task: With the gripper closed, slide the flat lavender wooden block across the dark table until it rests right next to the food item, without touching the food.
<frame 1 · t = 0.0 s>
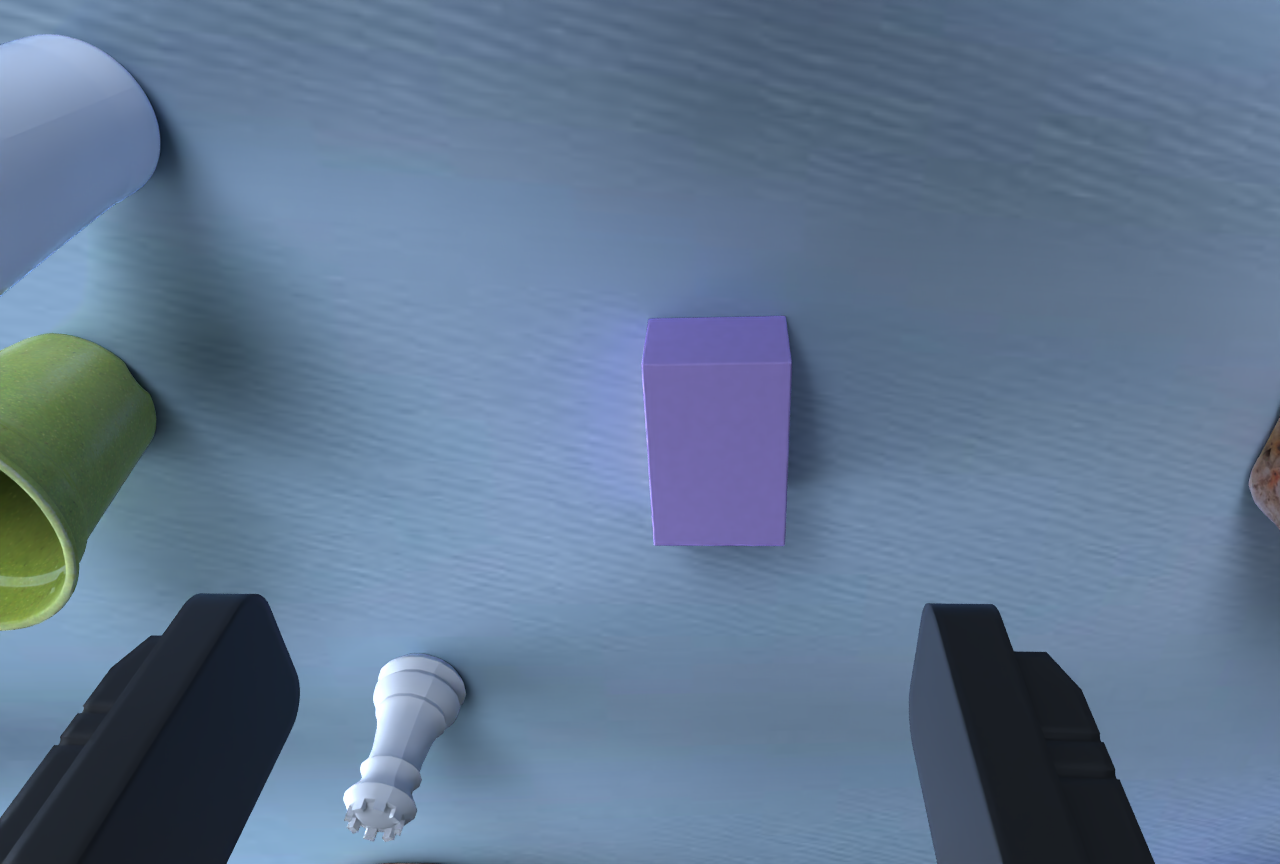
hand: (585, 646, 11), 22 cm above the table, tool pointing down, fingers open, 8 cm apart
lavender block: (718, 409, 34), on the table
plant pot: (87, 392, 37), on the table
rook chess piece: (425, 676, 45), on the table
drinking glass: (93, 114, 30), on the table
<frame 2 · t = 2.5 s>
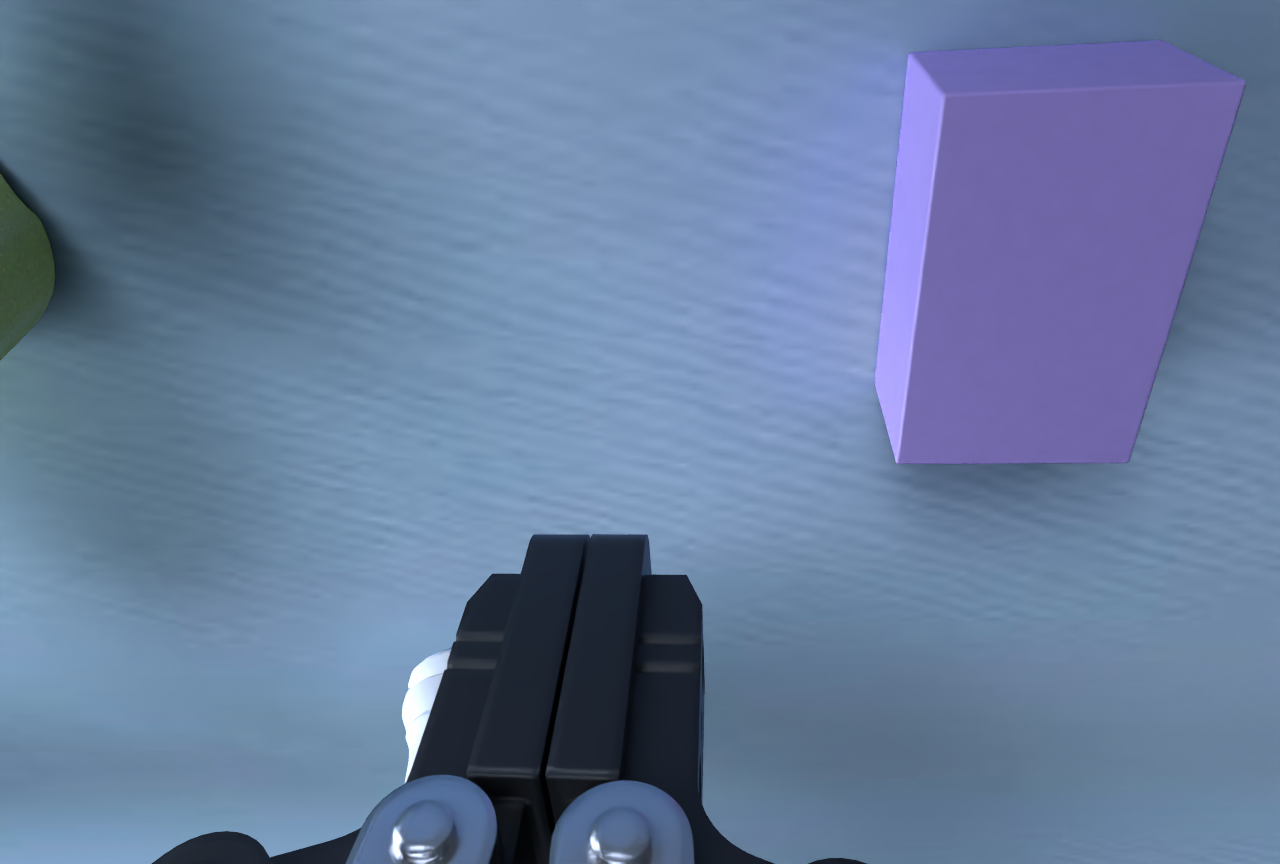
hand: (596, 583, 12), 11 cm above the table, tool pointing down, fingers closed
lavender block: (1000, 232, 20), on the table
rook chess piece: (477, 679, 31), on the table
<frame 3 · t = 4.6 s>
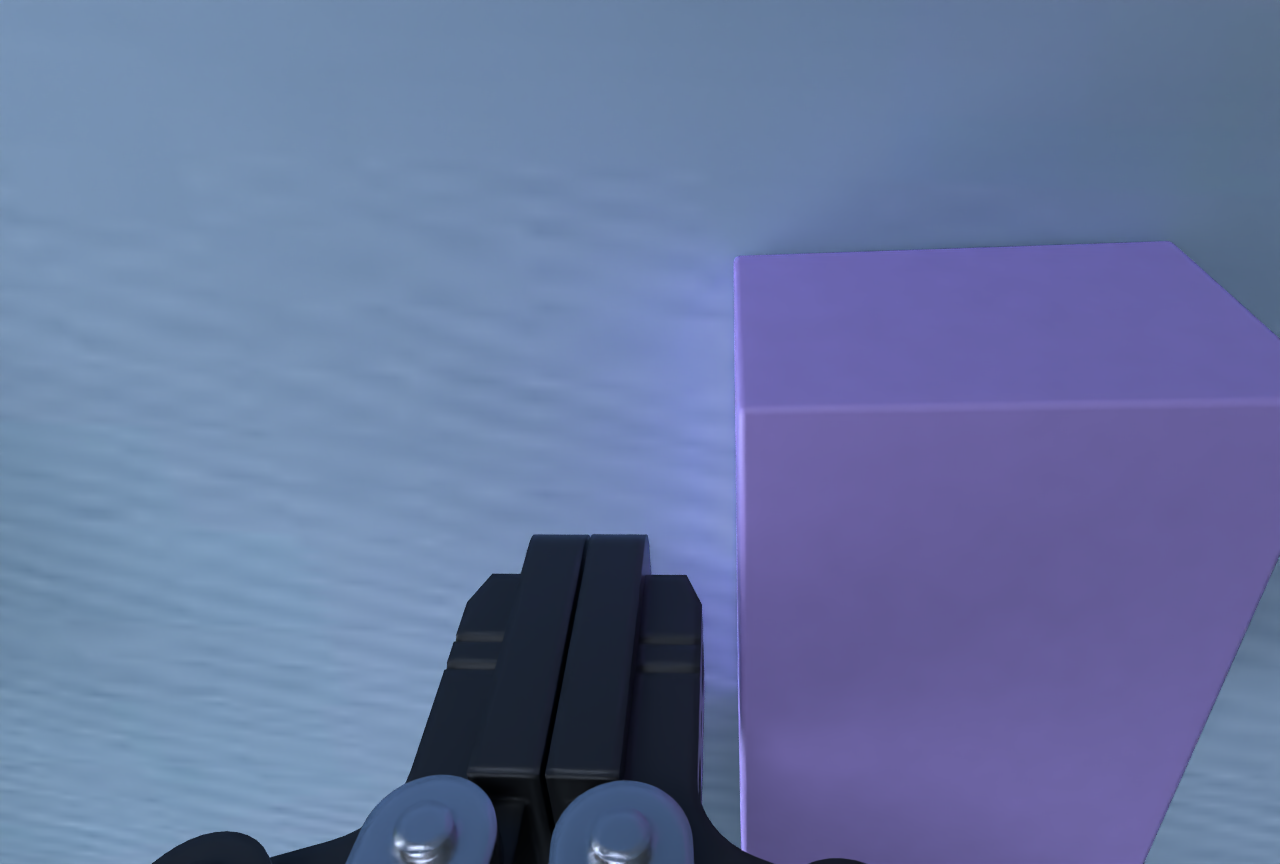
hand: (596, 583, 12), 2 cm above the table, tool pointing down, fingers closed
lavender block: (912, 512, 13), on the table, touching gripper
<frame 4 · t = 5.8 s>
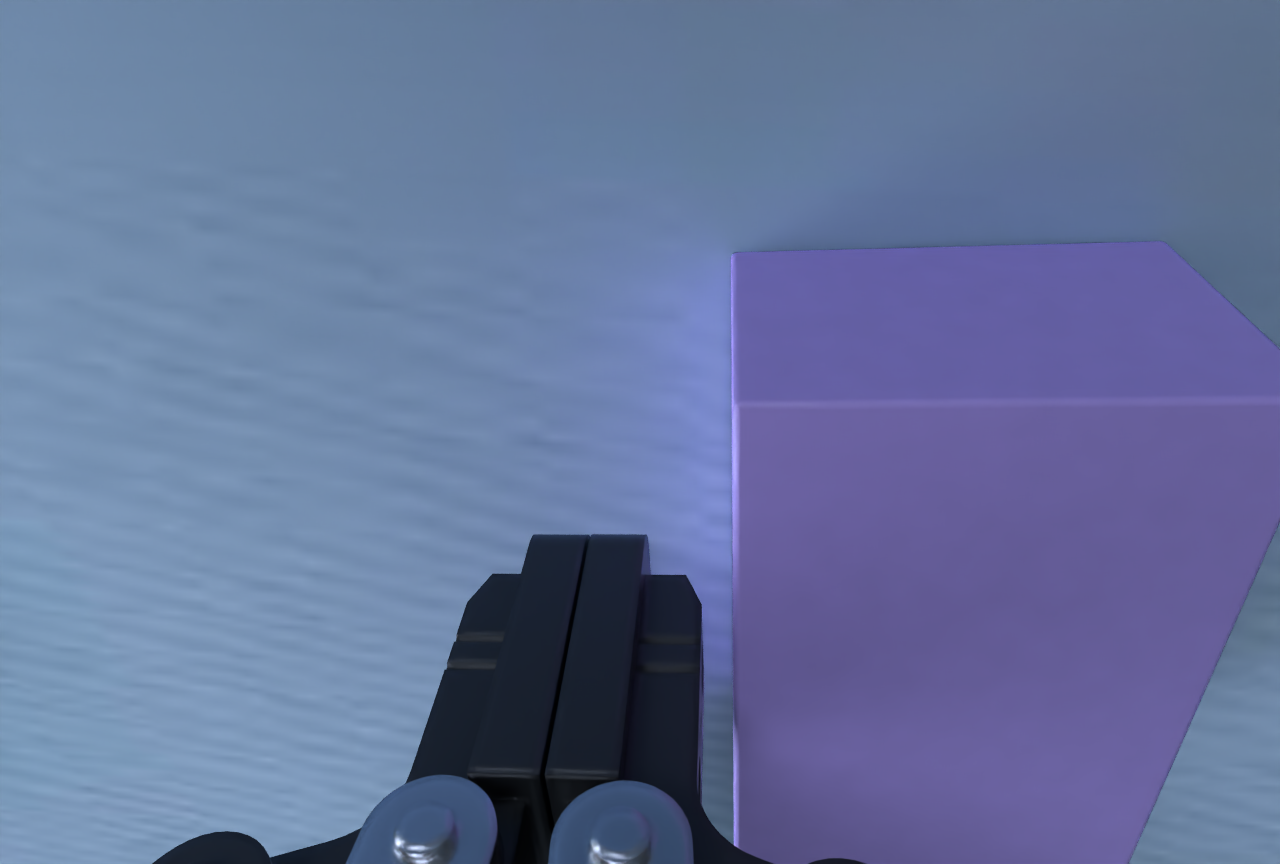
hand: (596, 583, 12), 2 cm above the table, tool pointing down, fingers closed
lavender block: (907, 508, 13), on the table, touching gripper
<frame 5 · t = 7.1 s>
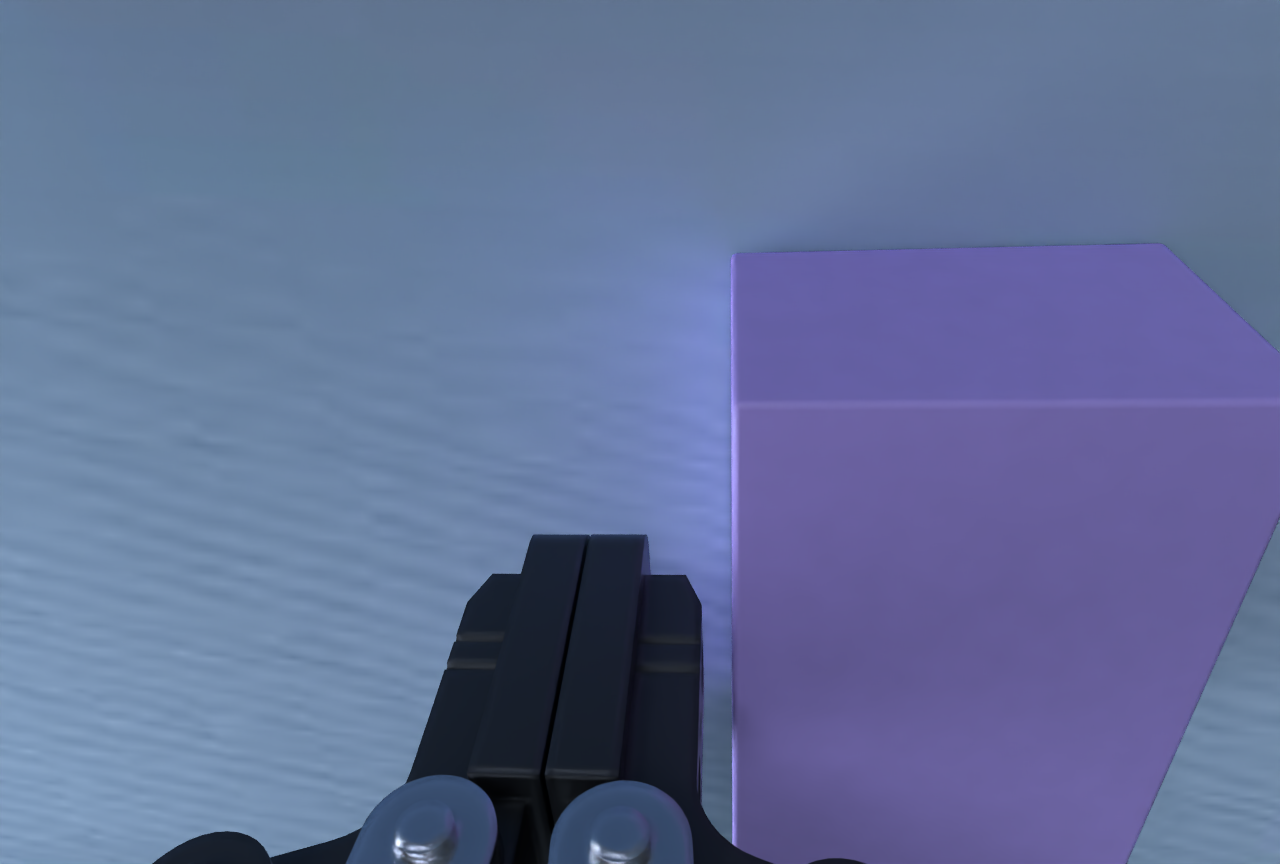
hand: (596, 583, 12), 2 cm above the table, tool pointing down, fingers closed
lavender block: (906, 509, 13), on the table, touching gripper
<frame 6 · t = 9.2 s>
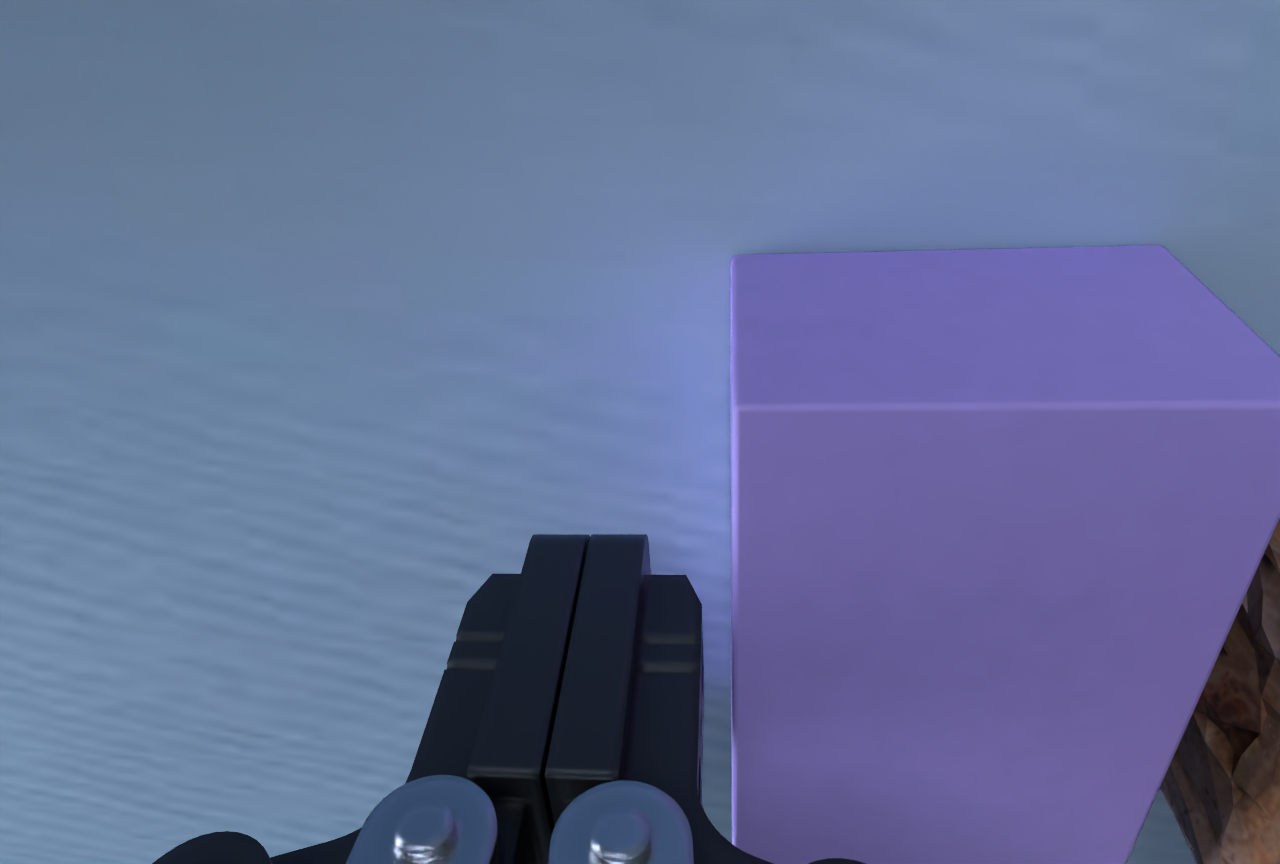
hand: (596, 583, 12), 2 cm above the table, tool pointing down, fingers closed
lavender block: (905, 510, 13), on the table, touching gripper
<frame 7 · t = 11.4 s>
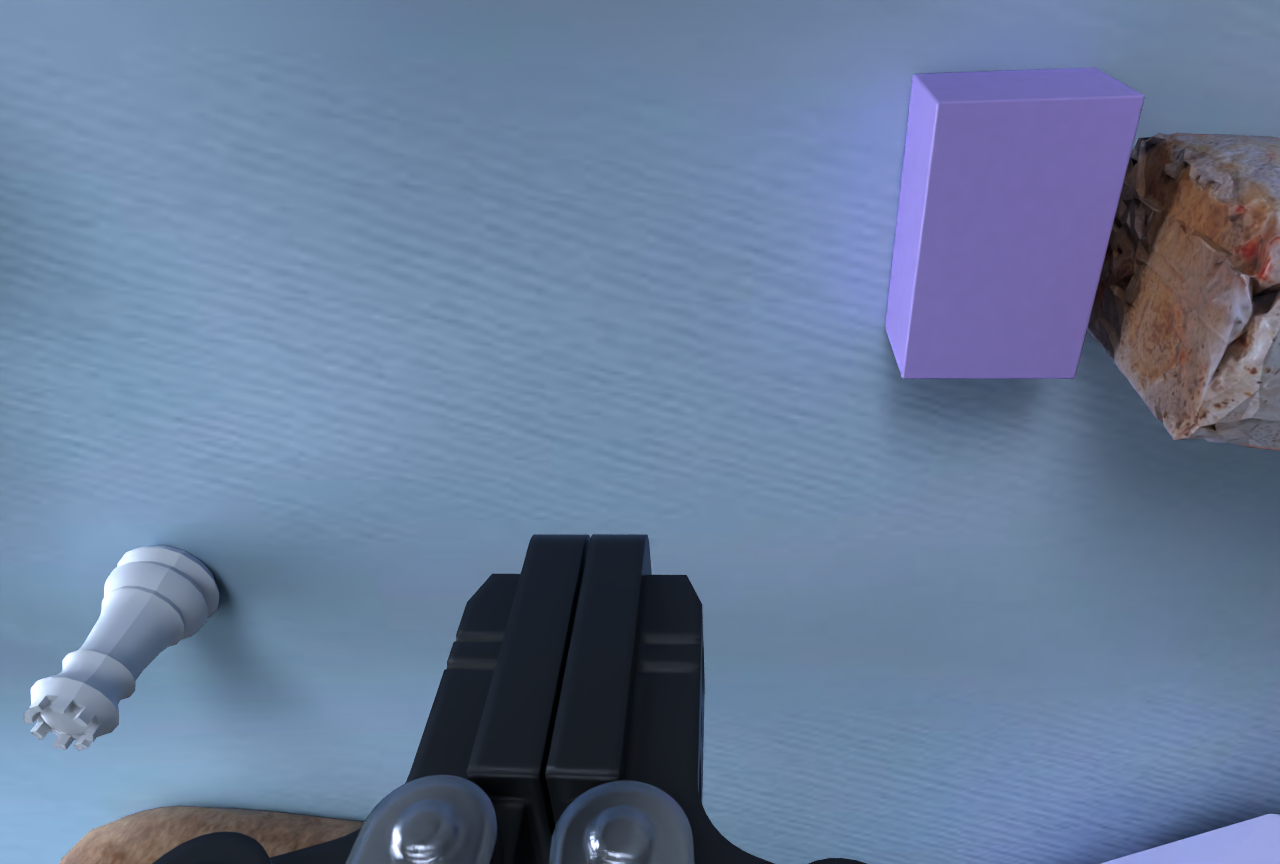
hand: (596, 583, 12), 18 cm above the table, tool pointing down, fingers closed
lavender block: (981, 209, 27), on the table
rook chess piece: (176, 575, 39), on the table
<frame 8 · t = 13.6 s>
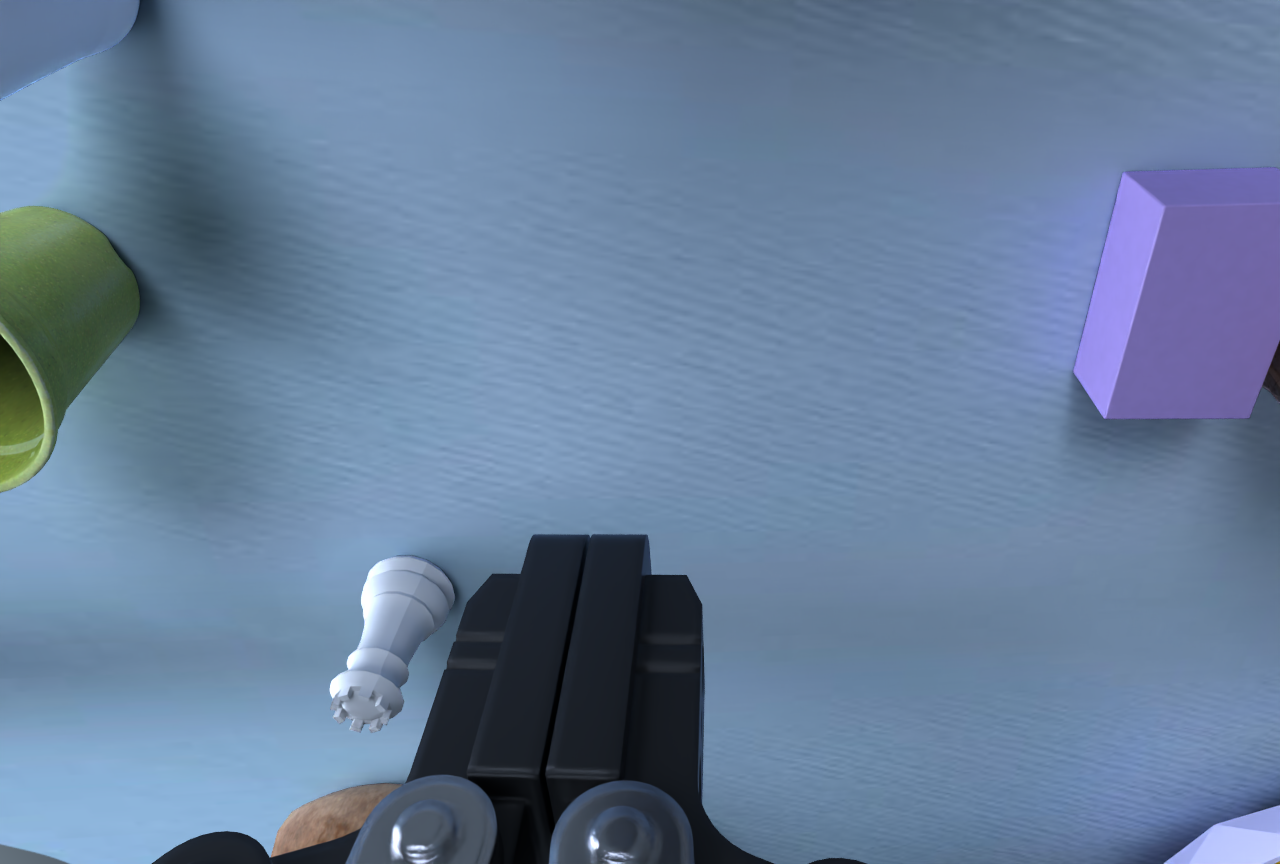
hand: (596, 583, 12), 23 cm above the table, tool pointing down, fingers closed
bread: (519, 842, 57), on the table
lavender block: (1166, 276, 32), on the table
plant pot: (70, 272, 36), on the table
rook chess piece: (414, 580, 44), on the table
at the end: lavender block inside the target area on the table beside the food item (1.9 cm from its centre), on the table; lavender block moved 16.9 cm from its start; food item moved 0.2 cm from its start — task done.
